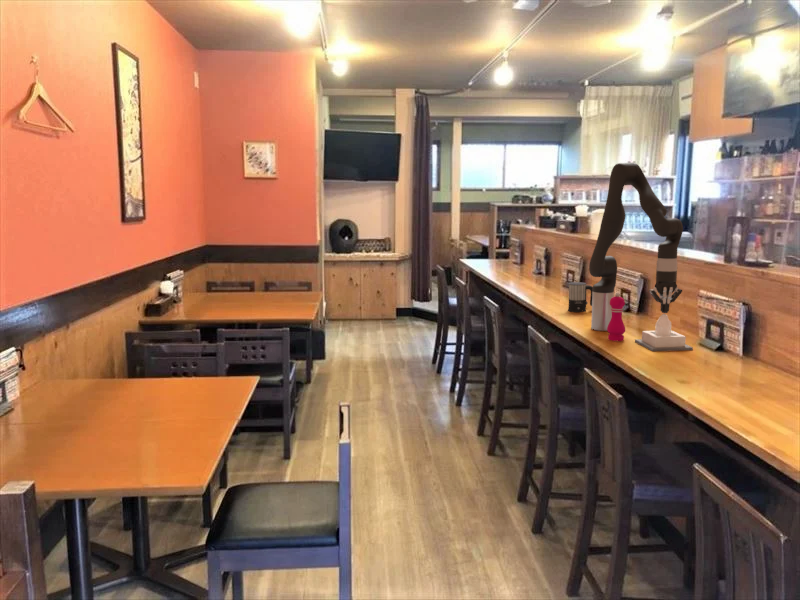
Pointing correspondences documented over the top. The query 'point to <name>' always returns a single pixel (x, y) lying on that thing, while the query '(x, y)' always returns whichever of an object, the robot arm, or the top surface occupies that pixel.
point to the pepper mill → (616, 319)
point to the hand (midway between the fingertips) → (664, 312)
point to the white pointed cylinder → (663, 326)
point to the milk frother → (578, 296)
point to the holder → (663, 341)
